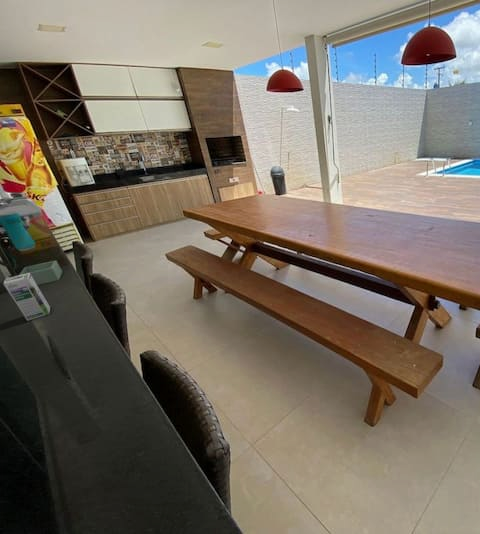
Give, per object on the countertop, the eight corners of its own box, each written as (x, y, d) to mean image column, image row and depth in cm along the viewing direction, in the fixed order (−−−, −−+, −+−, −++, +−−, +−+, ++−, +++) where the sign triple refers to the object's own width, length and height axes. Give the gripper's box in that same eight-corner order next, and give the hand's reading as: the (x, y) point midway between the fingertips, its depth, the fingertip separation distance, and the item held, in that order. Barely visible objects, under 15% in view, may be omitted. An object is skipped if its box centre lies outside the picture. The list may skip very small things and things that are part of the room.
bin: (26, 288, 125) (18, 275, 122) (31, 279, 133) (24, 267, 130) (58, 280, 130) (52, 268, 127) (62, 272, 138) (56, 260, 135)
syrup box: (26, 321, 102) (2, 283, 95) (29, 314, 106) (5, 277, 100) (49, 314, 105) (27, 277, 99) (51, 307, 109) (29, 271, 103)
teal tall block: (39, 247, 126) (19, 211, 120) (20, 252, 122) (-2, 216, 115) (34, 245, 129) (14, 210, 122) (15, 250, 125) (-6, 214, 118)
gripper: (-46, 204, 112) (-25, 233, 112) (29, 192, 127) (48, 217, 127) (-40, 214, 117) (-20, 242, 116) (32, 202, 132) (50, 226, 131)
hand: (16, 229), depth 121 cm, fingers closed on teal tall block, 5 cm apart
